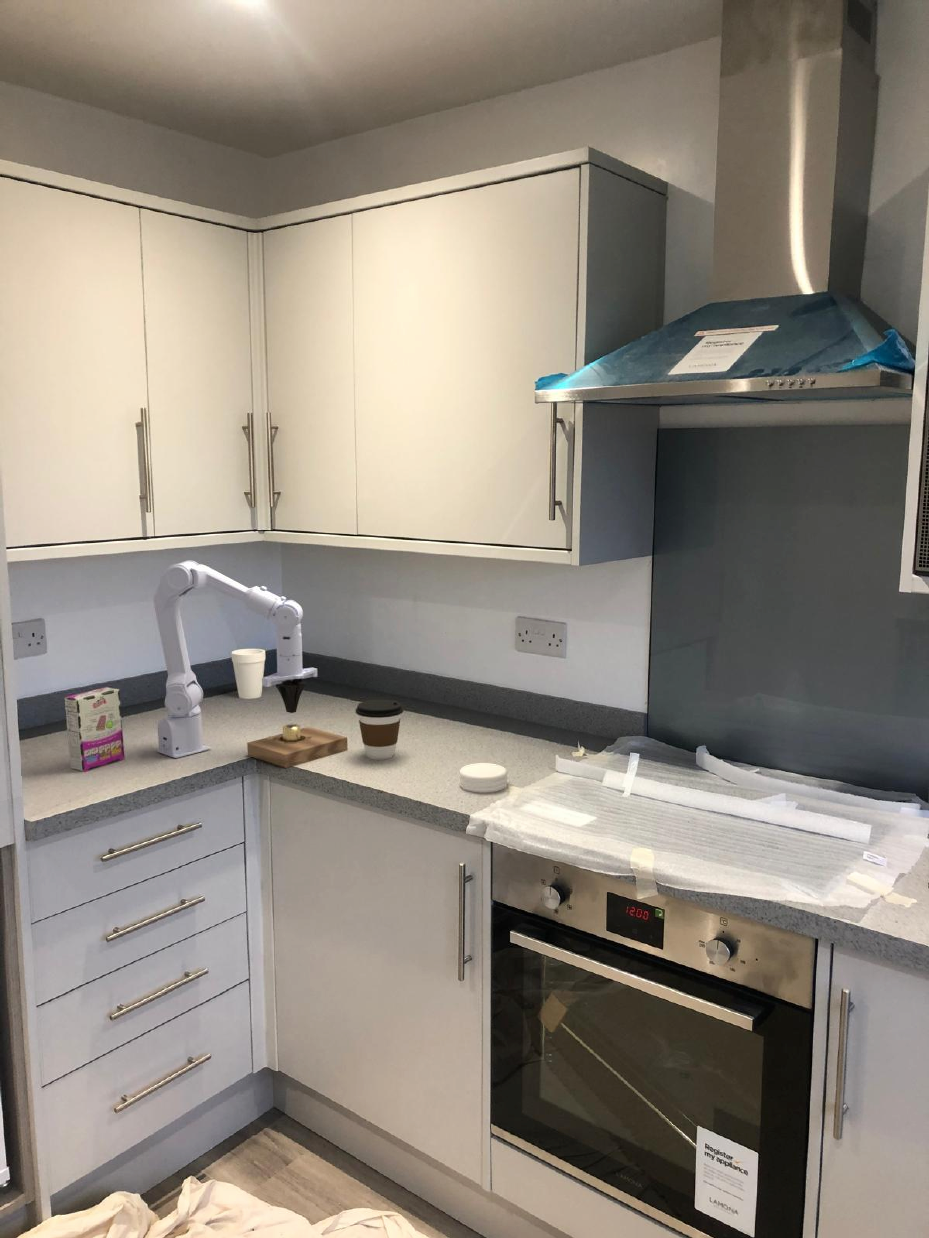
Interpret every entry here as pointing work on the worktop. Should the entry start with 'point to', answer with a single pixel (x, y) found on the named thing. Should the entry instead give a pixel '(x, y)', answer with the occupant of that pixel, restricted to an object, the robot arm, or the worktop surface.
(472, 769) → the white round disc
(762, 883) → the worktop surface
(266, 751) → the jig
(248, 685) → the foam cup
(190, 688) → the robot arm
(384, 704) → the coffee cup
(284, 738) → the bushing
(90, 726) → the candy bar box
